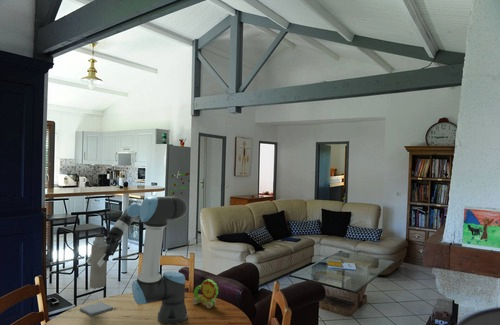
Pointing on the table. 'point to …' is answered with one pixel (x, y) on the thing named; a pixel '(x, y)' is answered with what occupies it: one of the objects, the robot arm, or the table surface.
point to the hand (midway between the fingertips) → (93, 264)
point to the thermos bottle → (96, 254)
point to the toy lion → (206, 293)
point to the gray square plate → (96, 308)
